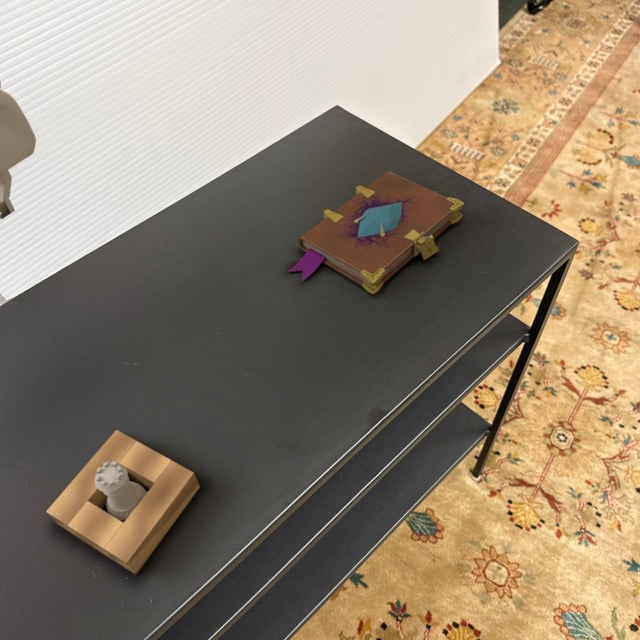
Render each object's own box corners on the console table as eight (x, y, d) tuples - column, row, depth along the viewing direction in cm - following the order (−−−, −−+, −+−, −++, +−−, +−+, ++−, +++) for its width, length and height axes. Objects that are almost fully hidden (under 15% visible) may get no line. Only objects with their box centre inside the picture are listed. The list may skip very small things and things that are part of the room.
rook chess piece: (159, 498, 70) (140, 464, 64) (132, 533, 68) (109, 501, 62) (128, 480, 72) (106, 445, 66) (100, 513, 70) (75, 480, 63)
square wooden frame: (57, 524, 69) (45, 511, 66) (125, 444, 75) (116, 429, 72) (136, 575, 65) (126, 563, 63) (200, 486, 71) (194, 472, 68)
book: (276, 270, 93) (271, 244, 89) (385, 186, 104) (385, 159, 100) (362, 323, 85) (361, 297, 81) (471, 226, 96) (474, 199, 92)
